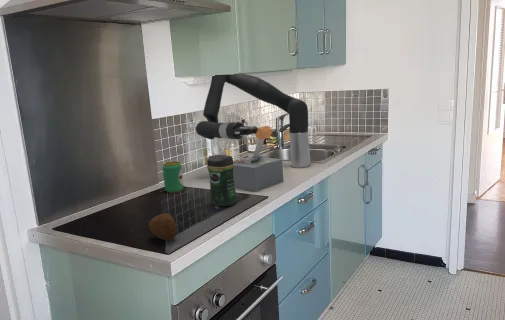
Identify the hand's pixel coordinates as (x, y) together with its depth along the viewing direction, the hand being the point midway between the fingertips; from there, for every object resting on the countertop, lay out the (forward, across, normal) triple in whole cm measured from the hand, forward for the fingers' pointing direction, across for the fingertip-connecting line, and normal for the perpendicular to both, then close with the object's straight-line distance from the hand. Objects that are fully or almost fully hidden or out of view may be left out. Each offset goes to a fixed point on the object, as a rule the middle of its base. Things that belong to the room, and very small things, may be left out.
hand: (260, 131), depth 175 cm
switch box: (-5, 0, +23) cm, 24 cm away
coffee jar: (+3, -27, +24) cm, 36 cm away
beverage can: (-31, -24, +23) cm, 46 cm away
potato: (+13, -61, +24) cm, 67 cm away
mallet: (-5, 0, +12) cm, 13 cm away
